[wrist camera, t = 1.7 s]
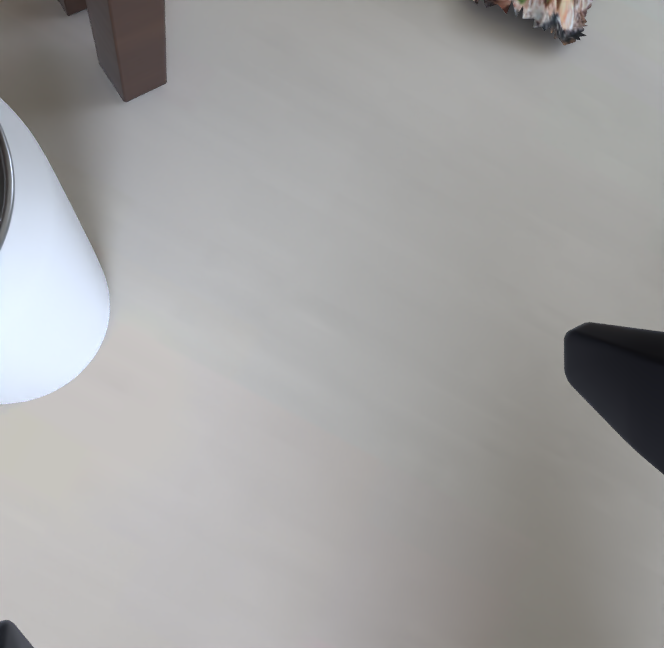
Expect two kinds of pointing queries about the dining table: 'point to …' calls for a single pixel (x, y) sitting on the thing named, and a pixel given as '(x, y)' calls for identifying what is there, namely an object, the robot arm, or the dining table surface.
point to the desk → (127, 41)
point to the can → (43, 274)
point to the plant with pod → (551, 15)
